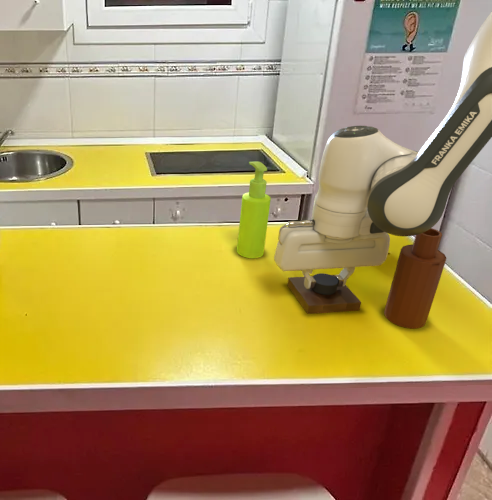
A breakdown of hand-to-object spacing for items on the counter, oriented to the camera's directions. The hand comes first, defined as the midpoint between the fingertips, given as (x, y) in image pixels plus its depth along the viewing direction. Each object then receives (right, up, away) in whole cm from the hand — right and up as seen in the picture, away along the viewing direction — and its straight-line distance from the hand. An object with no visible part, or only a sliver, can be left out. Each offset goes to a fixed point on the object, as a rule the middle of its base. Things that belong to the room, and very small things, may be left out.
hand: (324, 286), depth 98 cm
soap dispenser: (-10, +6, +18) cm, 22 cm away
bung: (0, -2, +1) cm, 2 cm away
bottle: (+13, -5, -5) cm, 15 cm away
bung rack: (0, -2, +1) cm, 2 cm away
